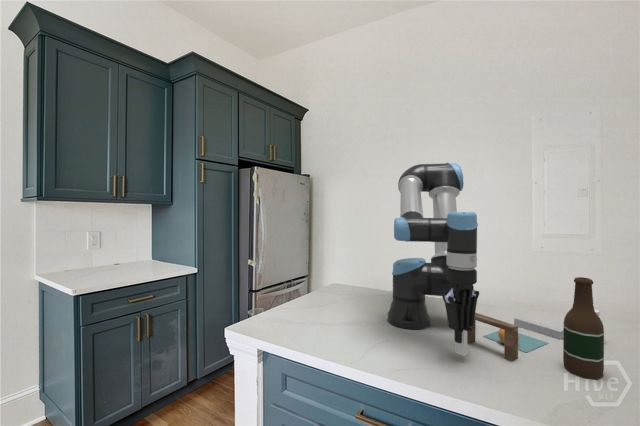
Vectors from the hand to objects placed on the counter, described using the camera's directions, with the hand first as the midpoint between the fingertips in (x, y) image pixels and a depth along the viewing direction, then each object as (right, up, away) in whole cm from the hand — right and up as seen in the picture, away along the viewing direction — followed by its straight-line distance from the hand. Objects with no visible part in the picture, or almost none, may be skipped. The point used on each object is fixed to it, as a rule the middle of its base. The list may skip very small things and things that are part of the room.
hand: (461, 353), depth 82 cm
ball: (+19, +1, +10) cm, 22 cm away
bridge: (+11, -2, +6) cm, 13 cm away
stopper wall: (+36, -2, +20) cm, 41 cm away
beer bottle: (+29, -2, -6) cm, 29 cm away
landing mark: (+24, -2, +13) cm, 27 cm away
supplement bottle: (+48, -2, +13) cm, 50 cm away
